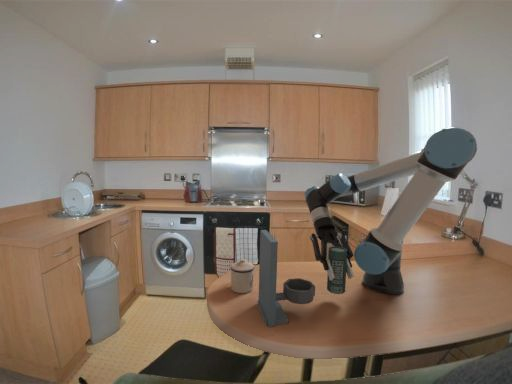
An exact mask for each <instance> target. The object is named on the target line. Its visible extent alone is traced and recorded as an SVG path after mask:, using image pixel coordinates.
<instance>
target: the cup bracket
mask: <svg viewBox="0 0 512 384" xmlns="http://www.w3.org/2000/svg"><path fill="white" fill-rule="evenodd" d="M259 234H260V235H259V236H260V237H259V270H258V300H257V306H258V309H259V312H260V313H261V316H262V318H263V321H264V324H265V326H267V327H268V328H273V327H274V328H275V327H276V325H279V324H280V325H281V324H288V323H289V318H288V316H287V314H286V313H285V311H284V308H283V307H282V305H281V304H280V302H279V301H286V300H287V301H289V302H290V303H293V304H297V305H306V304H310V303H312V302H313V301H314V299H315V298H314V297H315V296H316V285H315V284H313V282H312V281H311V280H307V279H304V278H301V277H299V278H296V277H295V278H288V279H287V280H286V281H285V282H283V287H282V289H283V290H282V292H277V281H278V280H277V279H278V276H277V275H278V274H277V273H278V246H279V245H278V243H279V242H278V240H277V239H276V238H274V236H272V234H271V233H269V231H268V230H267V229H260V231H259Z"/></svg>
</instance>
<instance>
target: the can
mask: <svg viewBox="0 0 512 384" xmlns="http://www.w3.org/2000/svg"><path fill="white" fill-rule="evenodd" d="M327 259H329V261H330V264H331V267H332V270H333V273H334V276H335V278H334V279H333V280H330V279H329V276H328V275H327V281H326V290H327V292H329V293H331V294H334V295H335V294H336V295H342V294H345V293H346V283H347V273H346V265H347V249H345V248H343V247H337V246H333V245H332V246H330V247H328V258H327Z"/></svg>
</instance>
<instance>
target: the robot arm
mask: <svg viewBox="0 0 512 384" xmlns="http://www.w3.org/2000/svg"><path fill="white" fill-rule="evenodd" d="M477 145H478V144H477V140H476V138H475V136H474V135H473V134H472V133H471V132H470V131H468V130H466V129H464V128H460V127H456V126H455V127H446V128H442V129H439V130H437V131H435V132H434V133H433V134H432V135H431V136H430V137H429V138H428V139H427V141H426V143H425V145H424V146H423V147H422V148H421V149H420V151H416V152H413V153H411V154H407V155H406V156H402V157H399V158H397V159H394V160H392V161H389V162H386V163H383V164H381V165H378V166H374V167H371V168H370V169H366V170H363V171H360V172H359V173H355V174H353V175H350V176H346V175H345V174H343V173H337V174H336V175H334V176H332V177H331V178H330V179H329V180H327V181H326V182H325V183H323V184H322V185H321V186H320V187H319V186H315V185H314V186H311V187H308V188H307V189H306V190H305V192H304V199H305V203H306V205H307V208H308V211H309V214H310V218H311V221H312V224H313V227H314V231H315V233H311V235H310V237H309V239H310V241H311V242H312V248H313V252H314V258H315V260H316V261H317V262H320V264H322V266H323V269H324V271H326V272H327V273H326V274H327V276H329V279H330V280H333V279H334V278H335V276H334V273H333V270H332V267H331V264H330V261H329V259H328V258H327V250H328V249H327V248H328V246H327V245H328V244H331V245H332V246H333V247H334V246H337V247H343V248H345V249H347V265H346V277H347V278H348V280H351V279H352V278H353V277H354V275H355V274H354V272H353V269H352V268H353V264H352V261H351V259H352V258H353V257H354V260H355V263H356V265H357V266H358V268H360V270H361V271H363V272H364V274H363V276H362V283H363V286H365V287H366V288H367V289H370V290H371V291H373V292H377V293H380V294H385V295H386V294H387V295H398V294H402V293H403V292H404V289H405V288H404V287H405V283H404V279H403V276H402V273H401V265H402V254H403V249H404V247H403V243H404V239H405V238H406V236H407V235H408V234H409V233H410V232H411V230H412V229H413V227H414V226H415V224H416V223H417V222H418V221H419V219H420V217H421V216H422V215H423V213H424V212H425V211H426V210H427V208H428V207H429V206H430V204H431V203H432V201H433V200H434V199H435V198H436V196H437V195H438V193H440V191H441V189H442V188H443V187H444V185H445V184H446V183H447V182H451V181H455V180H456V179H457V178H458V177H459V175H460V174H461V172H462V171H463V170H464V168H466V166H467V165H468V164H469V163H470V162H471V161H472V160H473V159H474V157H475V156H476V154H477V151H478V147H477ZM408 177H411V178H410V180H409V182H407V184H406V186H405V187H404V189H403V190H402V191H401V193H400V195H399V196H398V198H397V199H396V200H395V201H394V203H393V205H392V206H391V208H390V209H389V210H388V212H387V213H386V215H385V216H384V217H383V219H382V221H381V222H380V223H379V226H378V227H375V228H371V229H370V231H369V232H368V234H367V235H366V236H365V238H364V240H363V241H362V242H360V243H358V244H357V246H356V247H355V249H354V252H353V251H352V249H351V248H352V247H350V244H349V242H348V240H347V238H346V233H345V232H338V231H337V230H336V227H335V222H334V221H333V218H332V215H331V213H330V210H329V207H328V205H329V204H331V203H332V202H333V201H335V200H336V199H338V198H340V197H341V198H342V197H345V196H351V195H355V194H357V193H361V192H364V191H367V190H369V189H372V188H376V187H380V186H381V185H385V184H389V183H392V182H396V181H398V180H401V179H405V178H408ZM318 239H319V240H320V245H319V240H318ZM320 247H321V248H320Z"/></svg>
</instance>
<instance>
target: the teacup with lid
mask: <svg viewBox="0 0 512 384" xmlns="http://www.w3.org/2000/svg"><path fill="white" fill-rule="evenodd" d="M230 270H231V271H230V276H231V277H230V289H231V290H232V292H234V293H236V294H249V293H250V292H252V291H253V289H254V272H255V271H254V270H255V266H254V264H253V263H251V262H249V261H247V260H246V259H245V258H240V259H239V261H237V262H233V263H232V264H231V266H230Z"/></svg>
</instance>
